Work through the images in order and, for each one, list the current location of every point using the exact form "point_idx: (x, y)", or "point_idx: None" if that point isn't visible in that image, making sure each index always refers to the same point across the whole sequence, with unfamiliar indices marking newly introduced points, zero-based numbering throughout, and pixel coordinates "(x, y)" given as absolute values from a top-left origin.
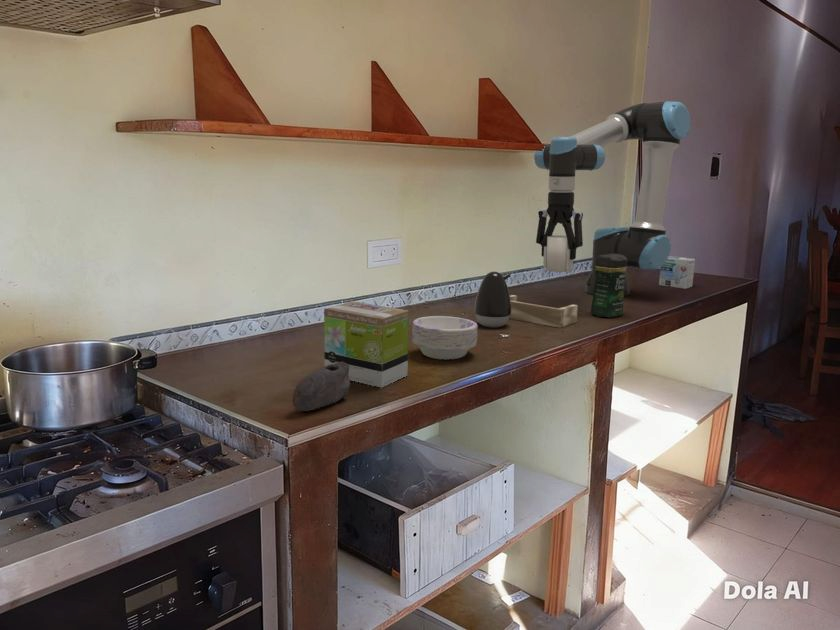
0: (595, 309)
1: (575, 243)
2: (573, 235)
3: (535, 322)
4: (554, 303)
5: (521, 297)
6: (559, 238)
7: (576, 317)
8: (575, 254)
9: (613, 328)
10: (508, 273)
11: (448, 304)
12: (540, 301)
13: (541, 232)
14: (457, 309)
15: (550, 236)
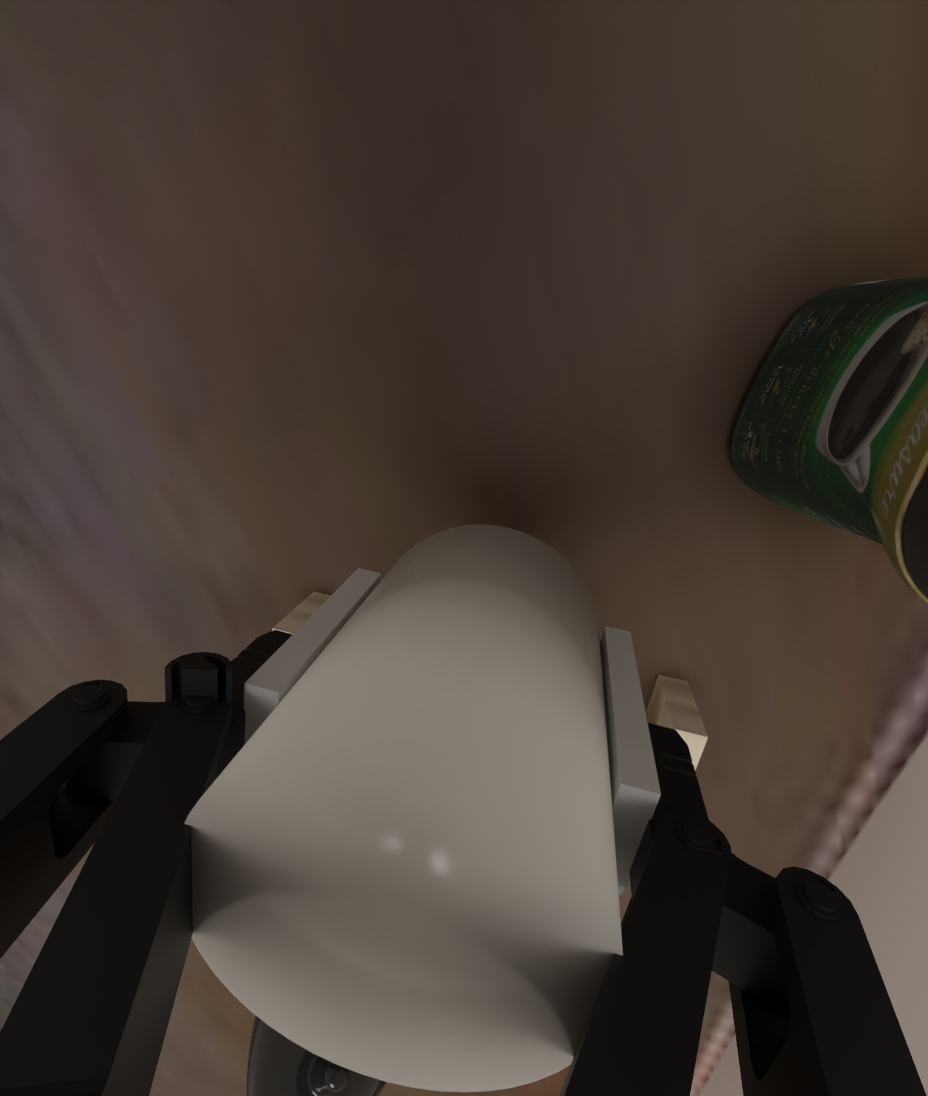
0: (776, 502)
1: (743, 1016)
2: (691, 1046)
3: None
4: (414, 220)
5: (156, 153)
6: (466, 1085)
7: (691, 698)
8: (692, 782)
9: (902, 723)
10: (331, 1091)
11: (26, 601)
12: (313, 213)
13: (8, 923)
14: (119, 678)
15: (243, 947)
